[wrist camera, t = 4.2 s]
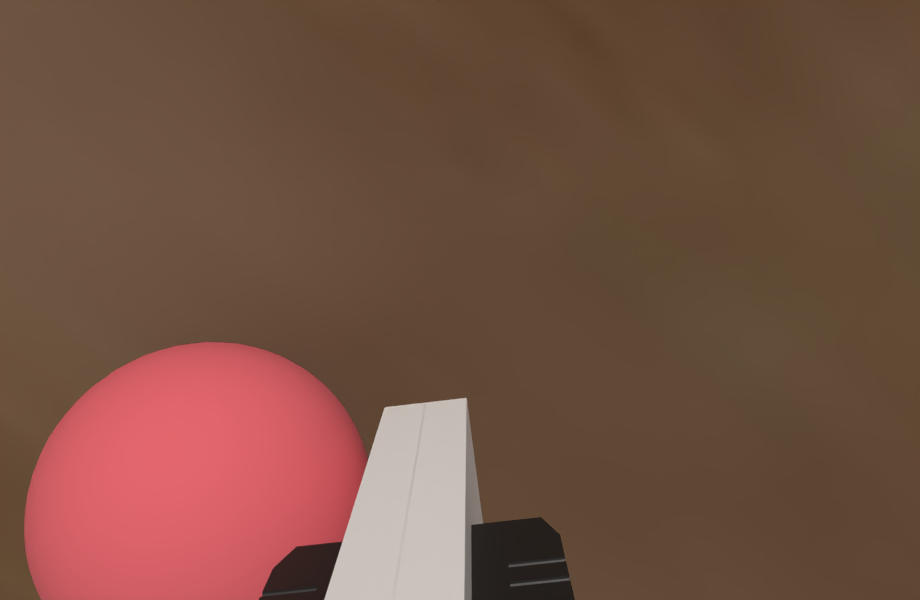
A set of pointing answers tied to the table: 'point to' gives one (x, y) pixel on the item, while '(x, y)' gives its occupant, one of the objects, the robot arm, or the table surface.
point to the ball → (190, 478)
